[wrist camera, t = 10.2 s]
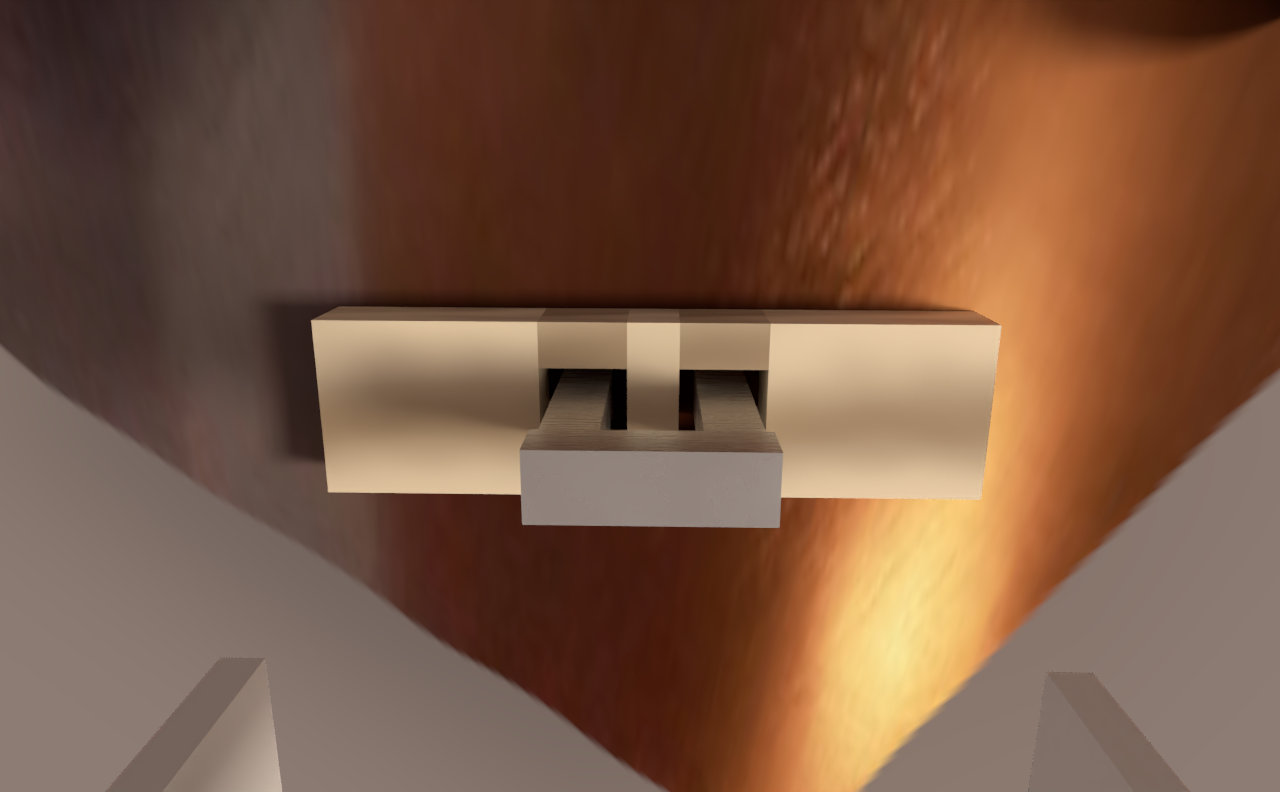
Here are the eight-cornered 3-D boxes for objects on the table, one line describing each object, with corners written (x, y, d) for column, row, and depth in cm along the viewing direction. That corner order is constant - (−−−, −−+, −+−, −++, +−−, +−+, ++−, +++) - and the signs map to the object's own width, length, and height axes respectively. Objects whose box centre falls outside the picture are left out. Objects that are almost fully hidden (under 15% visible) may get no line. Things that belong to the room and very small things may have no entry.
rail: (339, 306, 36) (311, 320, 33) (973, 311, 36) (1001, 325, 33) (353, 465, 38) (328, 492, 35) (956, 472, 37) (981, 499, 35)
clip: (560, 362, 36) (519, 450, 26) (747, 364, 36) (783, 452, 26) (561, 417, 37) (522, 524, 27) (745, 419, 37) (779, 527, 26)
